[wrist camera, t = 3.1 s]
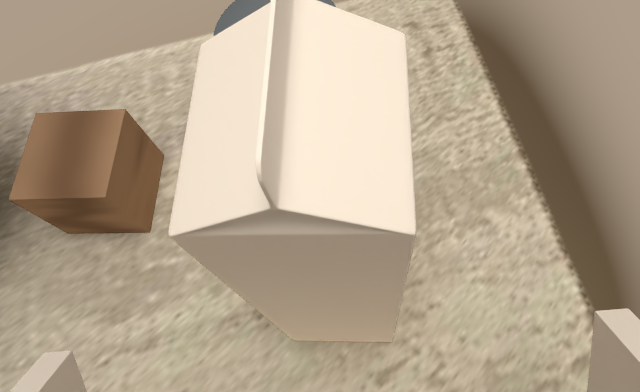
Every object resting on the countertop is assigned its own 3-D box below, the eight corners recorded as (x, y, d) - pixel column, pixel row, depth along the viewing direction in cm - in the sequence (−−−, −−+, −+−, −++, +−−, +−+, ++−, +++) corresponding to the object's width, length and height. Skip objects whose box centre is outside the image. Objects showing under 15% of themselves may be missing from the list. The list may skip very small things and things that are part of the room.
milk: (389, 246, 30) (422, -78, 10) (392, 344, 28) (443, 170, 8) (295, 246, 31) (153, -58, 11) (289, 342, 28) (93, 177, 8)
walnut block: (68, 234, 33) (8, 199, 28) (87, 158, 36) (35, 113, 30) (150, 232, 33) (105, 197, 27) (164, 155, 35) (125, 109, 30)
